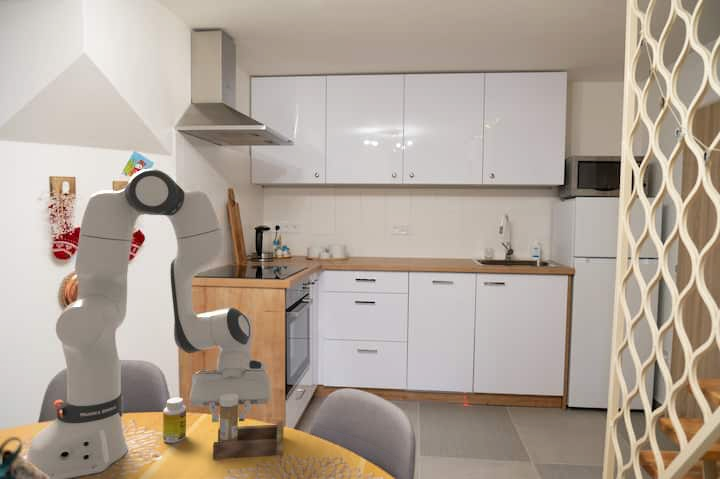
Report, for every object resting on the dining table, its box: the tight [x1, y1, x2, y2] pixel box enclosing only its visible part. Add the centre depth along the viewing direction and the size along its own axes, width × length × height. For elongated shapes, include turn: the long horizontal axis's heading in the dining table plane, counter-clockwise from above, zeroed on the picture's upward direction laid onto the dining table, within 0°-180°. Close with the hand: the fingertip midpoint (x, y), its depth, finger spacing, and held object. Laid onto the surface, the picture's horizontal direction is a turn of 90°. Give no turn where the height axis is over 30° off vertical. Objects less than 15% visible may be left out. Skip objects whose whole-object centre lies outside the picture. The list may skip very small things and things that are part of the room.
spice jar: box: [219, 394, 239, 442], centre depth 114 cm, size 5×5×14 cm
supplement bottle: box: [162, 397, 187, 444], centre depth 119 cm, size 6×6×10 cm
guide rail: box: [212, 420, 285, 460], centre depth 115 cm, size 17×10×4 cm, turn 99°
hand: (228, 421), depth 114 cm, fingers open, 5 cm apart
